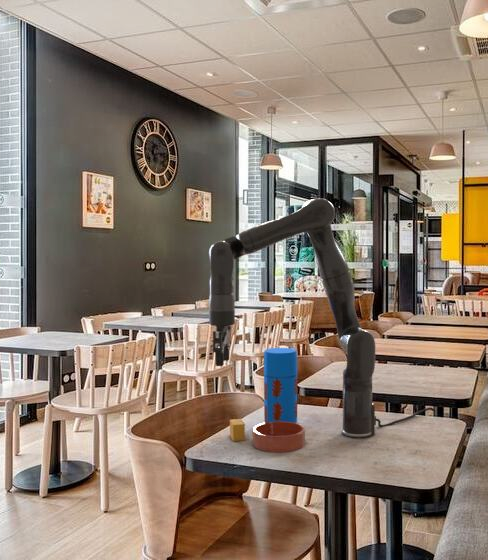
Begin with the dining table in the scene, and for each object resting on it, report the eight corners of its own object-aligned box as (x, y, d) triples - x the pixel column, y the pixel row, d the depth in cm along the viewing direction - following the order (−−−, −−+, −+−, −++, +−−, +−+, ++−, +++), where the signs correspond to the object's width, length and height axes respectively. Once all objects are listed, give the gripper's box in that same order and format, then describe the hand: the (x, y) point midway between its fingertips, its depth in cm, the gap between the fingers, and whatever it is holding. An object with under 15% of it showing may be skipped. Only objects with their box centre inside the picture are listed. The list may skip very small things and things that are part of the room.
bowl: (296, 433, 190) (296, 419, 190) (311, 449, 175) (311, 433, 175) (248, 438, 186) (248, 423, 185) (259, 454, 171) (259, 438, 171)
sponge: (241, 434, 189) (240, 418, 189) (244, 440, 183) (244, 424, 183) (229, 435, 188) (229, 419, 188) (233, 441, 182) (233, 425, 182)
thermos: (293, 431, 192) (292, 353, 190) (260, 429, 194) (260, 352, 192) (300, 422, 202) (299, 348, 201) (269, 420, 204) (268, 347, 203)
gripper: (229, 311, 171) (230, 368, 172) (238, 306, 185) (239, 358, 186) (203, 311, 171) (204, 367, 172) (214, 306, 185) (215, 358, 186)
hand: (222, 363), depth 179 cm, fingers open, 8 cm apart
